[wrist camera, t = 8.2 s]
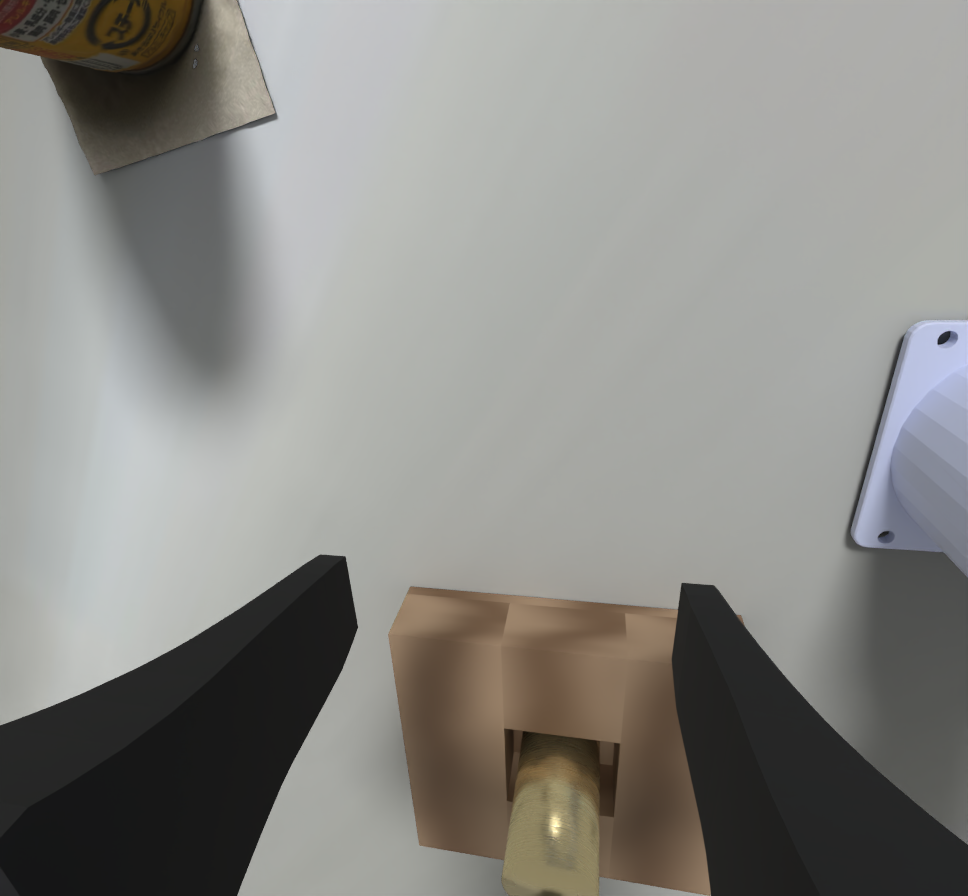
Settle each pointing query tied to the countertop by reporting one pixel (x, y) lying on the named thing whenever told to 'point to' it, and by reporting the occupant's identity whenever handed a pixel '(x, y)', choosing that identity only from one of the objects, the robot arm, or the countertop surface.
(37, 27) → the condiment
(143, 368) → the countertop surface
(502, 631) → the socket block
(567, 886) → the pin
